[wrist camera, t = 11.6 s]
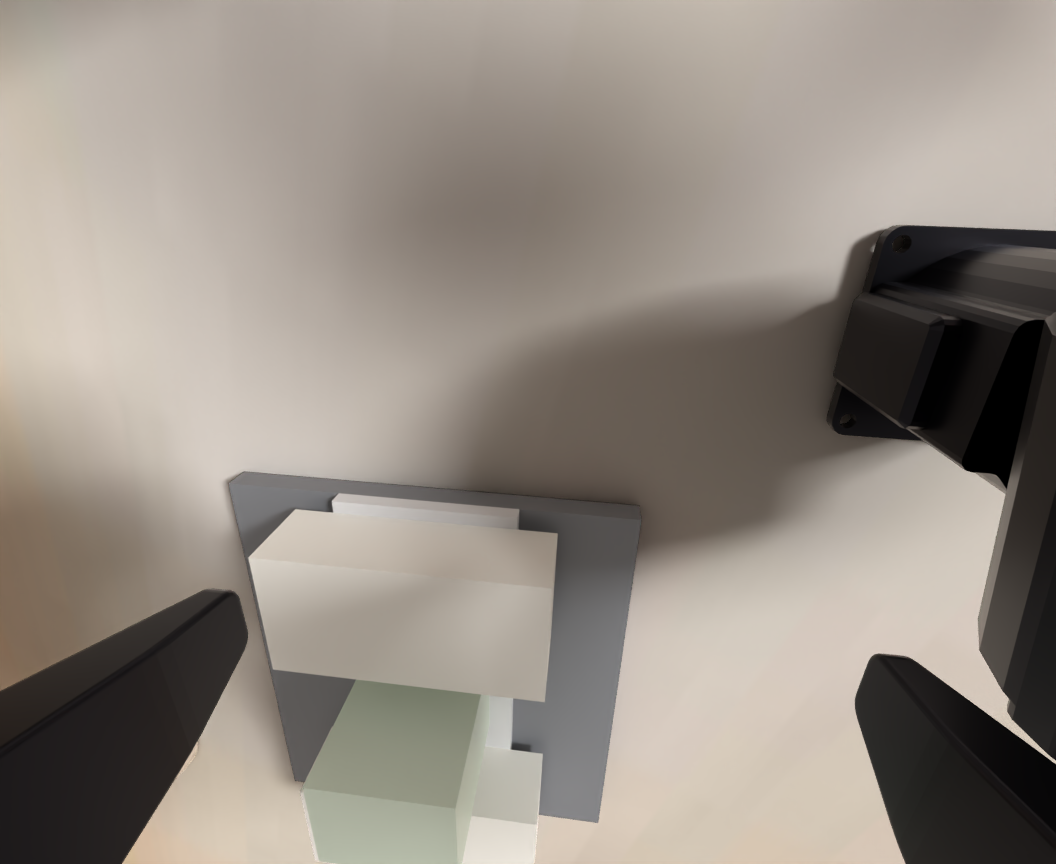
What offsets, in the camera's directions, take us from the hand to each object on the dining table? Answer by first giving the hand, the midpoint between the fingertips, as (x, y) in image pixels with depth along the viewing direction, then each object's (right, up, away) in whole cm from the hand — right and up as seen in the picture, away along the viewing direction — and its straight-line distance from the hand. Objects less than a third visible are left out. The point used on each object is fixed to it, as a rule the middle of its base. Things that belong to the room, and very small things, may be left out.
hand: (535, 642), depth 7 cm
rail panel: (-4, -7, +17) cm, 19 cm away
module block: (-4, -8, +15) cm, 18 cm away
